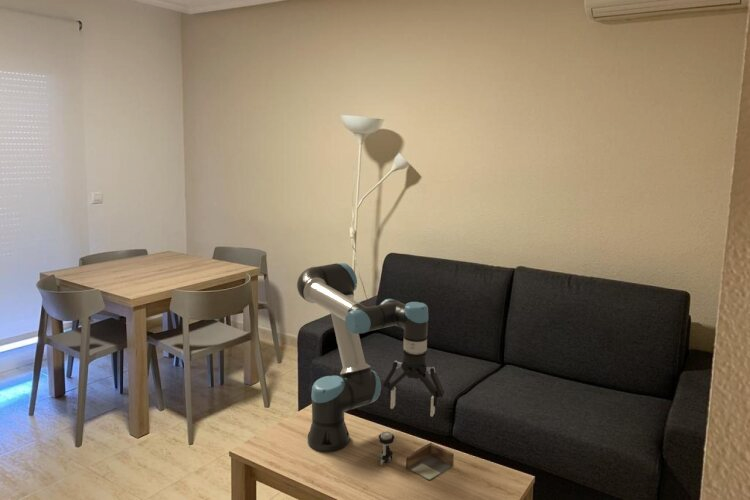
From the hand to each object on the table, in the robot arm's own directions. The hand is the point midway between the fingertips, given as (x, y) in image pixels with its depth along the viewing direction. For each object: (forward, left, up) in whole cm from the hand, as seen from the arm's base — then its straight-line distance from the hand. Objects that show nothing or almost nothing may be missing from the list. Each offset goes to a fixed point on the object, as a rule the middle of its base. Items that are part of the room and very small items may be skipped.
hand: (412, 410), depth 196 cm
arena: (+4, +5, -21) cm, 22 cm away
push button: (-9, -3, -21) cm, 23 cm away
